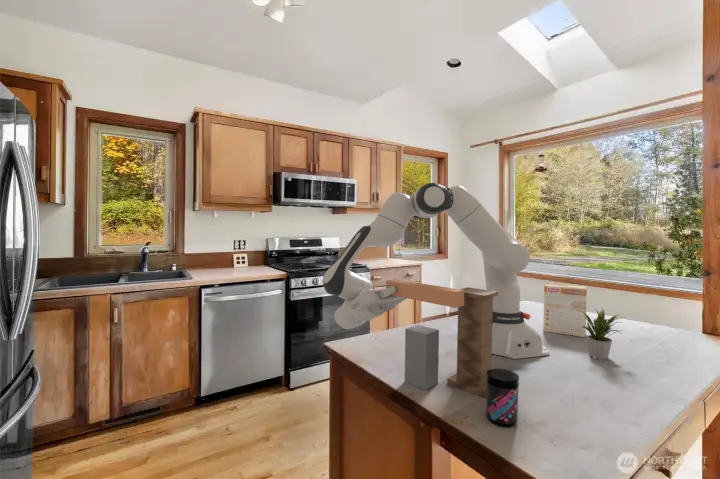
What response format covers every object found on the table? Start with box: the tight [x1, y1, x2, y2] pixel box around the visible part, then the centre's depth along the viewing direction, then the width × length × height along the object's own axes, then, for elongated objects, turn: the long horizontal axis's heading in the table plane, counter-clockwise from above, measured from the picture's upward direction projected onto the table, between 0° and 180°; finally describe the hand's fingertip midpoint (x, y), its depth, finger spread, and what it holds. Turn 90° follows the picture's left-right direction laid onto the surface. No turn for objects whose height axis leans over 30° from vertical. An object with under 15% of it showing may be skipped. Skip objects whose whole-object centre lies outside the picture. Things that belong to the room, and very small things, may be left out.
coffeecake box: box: [542, 283, 587, 338], centre depth 146 cm, size 15×7×20 cm, turn 58°
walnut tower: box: [446, 287, 498, 398], centre depth 96 cm, size 11×9×26 cm
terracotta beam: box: [385, 279, 464, 309], centre depth 97 cm, size 23×4×4 cm, turn 45°
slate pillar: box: [404, 324, 440, 391], centre depth 98 cm, size 7×6×15 cm
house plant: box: [581, 308, 625, 360], centre depth 118 cm, size 14×14×16 cm
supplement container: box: [485, 368, 520, 428], centre depth 79 cm, size 7×7×10 cm
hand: (401, 287), depth 102 cm, fingers closed on terracotta beam, 4 cm apart
